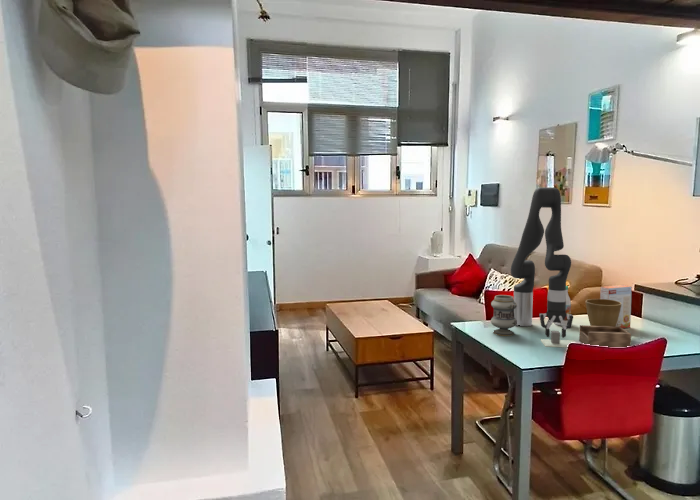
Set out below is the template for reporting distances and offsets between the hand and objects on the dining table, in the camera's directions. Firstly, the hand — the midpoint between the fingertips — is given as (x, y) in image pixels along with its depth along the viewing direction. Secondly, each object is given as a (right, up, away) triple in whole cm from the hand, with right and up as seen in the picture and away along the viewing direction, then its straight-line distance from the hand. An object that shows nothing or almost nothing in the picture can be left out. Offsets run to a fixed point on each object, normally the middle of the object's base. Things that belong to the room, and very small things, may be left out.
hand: (555, 337), depth 210 cm
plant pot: (+28, -2, +14) cm, 31 cm away
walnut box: (+20, -3, -3) cm, 20 cm away
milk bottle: (+18, 0, +34) cm, 39 cm away
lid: (+2, -4, 0) cm, 4 cm away
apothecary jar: (-17, -2, +18) cm, 25 cm away
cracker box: (+41, 0, +27) cm, 50 cm away
